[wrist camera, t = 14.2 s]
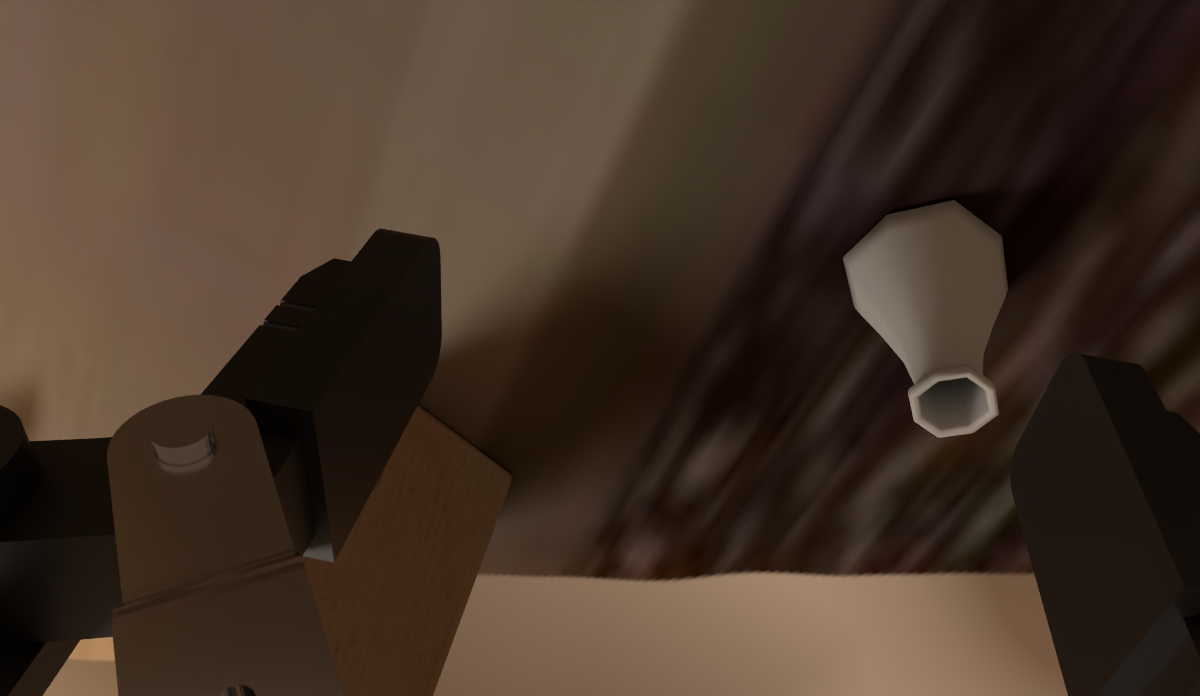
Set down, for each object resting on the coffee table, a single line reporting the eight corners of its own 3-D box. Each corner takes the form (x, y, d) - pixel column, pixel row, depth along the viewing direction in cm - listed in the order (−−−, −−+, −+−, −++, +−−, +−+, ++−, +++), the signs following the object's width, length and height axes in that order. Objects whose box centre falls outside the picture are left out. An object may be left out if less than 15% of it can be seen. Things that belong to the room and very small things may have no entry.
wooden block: (386, 377, 51) (203, 679, 36) (517, 474, 54) (401, 793, 38) (307, 456, 57) (117, 749, 41) (429, 541, 60) (296, 845, 44)
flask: (964, 170, 38) (1007, 295, 30) (1034, 291, 41) (1091, 433, 33) (815, 249, 41) (819, 379, 34) (890, 355, 44) (909, 497, 36)
